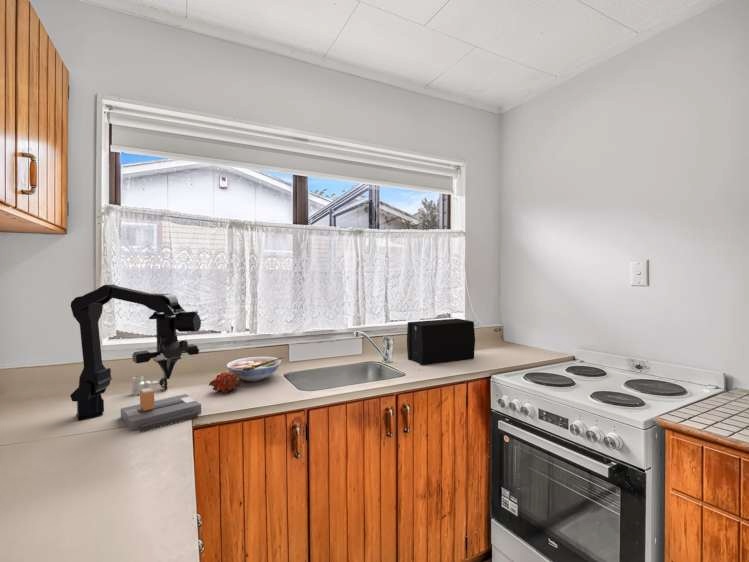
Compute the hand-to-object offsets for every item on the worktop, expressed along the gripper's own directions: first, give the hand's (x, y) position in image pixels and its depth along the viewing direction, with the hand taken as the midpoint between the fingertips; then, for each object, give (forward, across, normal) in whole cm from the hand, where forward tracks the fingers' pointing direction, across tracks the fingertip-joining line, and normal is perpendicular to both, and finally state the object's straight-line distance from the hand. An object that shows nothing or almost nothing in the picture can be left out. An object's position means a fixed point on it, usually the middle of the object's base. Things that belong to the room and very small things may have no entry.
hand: (167, 378), depth 124 cm
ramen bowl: (+12, +39, +17) cm, 44 cm away
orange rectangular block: (+8, -6, 0) cm, 10 cm away
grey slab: (+12, -2, 0) cm, 12 cm away
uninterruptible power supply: (+13, +126, -20) cm, 129 cm away
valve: (+12, +1, +30) cm, 33 cm away
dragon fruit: (+12, +23, +9) cm, 27 cm away
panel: (+12, -2, 0) cm, 12 cm away
